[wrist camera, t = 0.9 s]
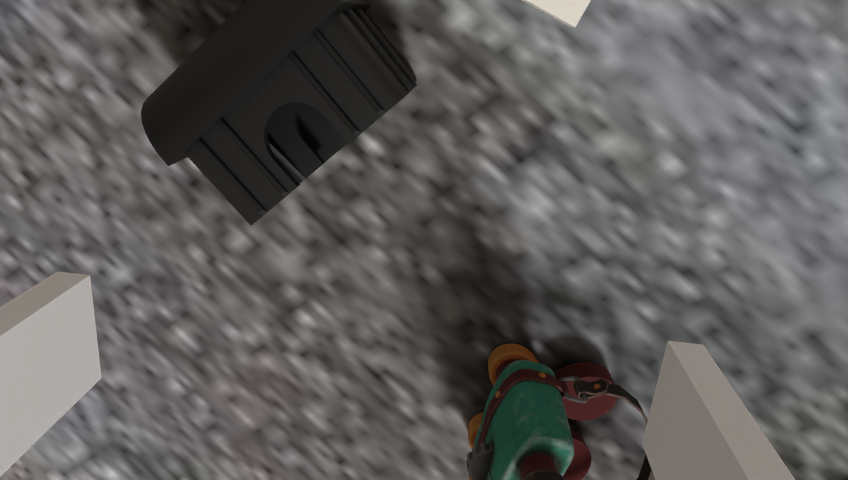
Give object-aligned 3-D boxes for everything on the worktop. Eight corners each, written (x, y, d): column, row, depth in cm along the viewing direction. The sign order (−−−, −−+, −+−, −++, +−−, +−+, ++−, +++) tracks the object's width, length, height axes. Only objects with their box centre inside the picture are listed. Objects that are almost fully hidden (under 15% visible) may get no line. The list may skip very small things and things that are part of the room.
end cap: (331, -50, 28) (286, -70, 22) (428, 74, 30) (413, 89, 23) (187, 90, 31) (110, 108, 25) (282, 197, 33) (233, 240, 26)
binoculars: (667, 648, 28) (450, 614, 27) (602, 478, 38) (442, 449, 37) (747, 495, 25) (504, 451, 24) (654, 353, 34) (480, 318, 34)
